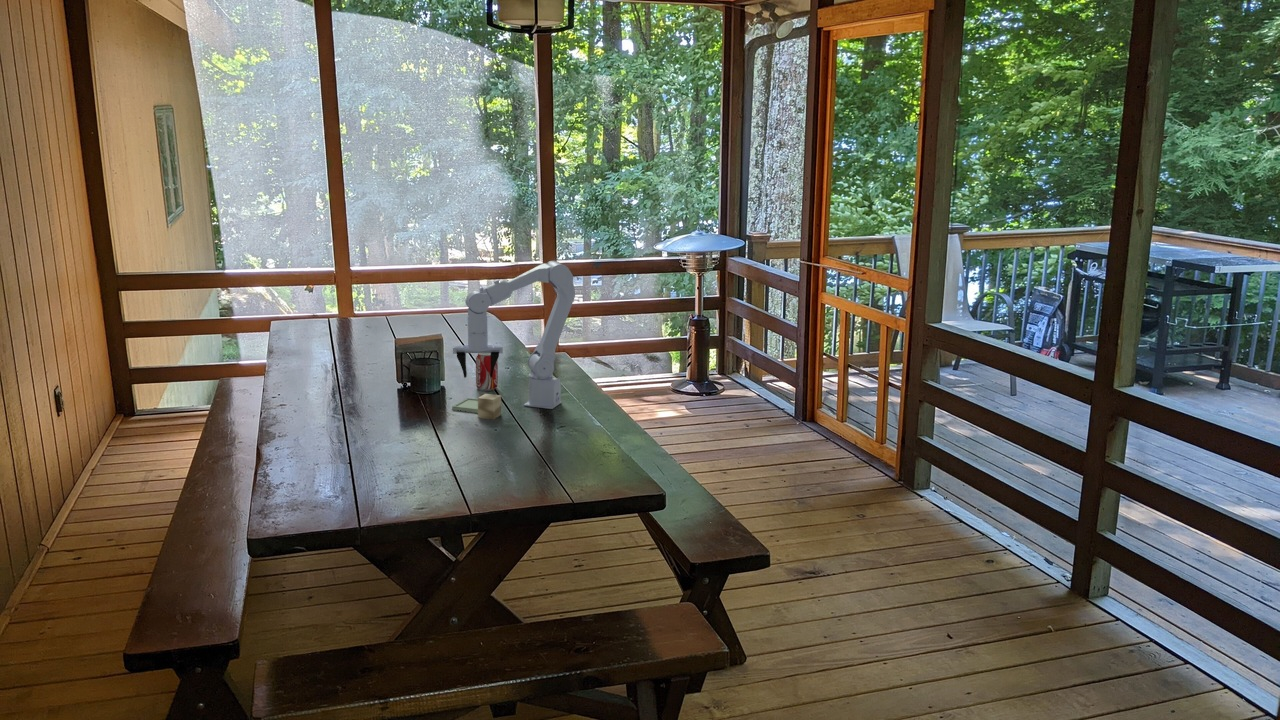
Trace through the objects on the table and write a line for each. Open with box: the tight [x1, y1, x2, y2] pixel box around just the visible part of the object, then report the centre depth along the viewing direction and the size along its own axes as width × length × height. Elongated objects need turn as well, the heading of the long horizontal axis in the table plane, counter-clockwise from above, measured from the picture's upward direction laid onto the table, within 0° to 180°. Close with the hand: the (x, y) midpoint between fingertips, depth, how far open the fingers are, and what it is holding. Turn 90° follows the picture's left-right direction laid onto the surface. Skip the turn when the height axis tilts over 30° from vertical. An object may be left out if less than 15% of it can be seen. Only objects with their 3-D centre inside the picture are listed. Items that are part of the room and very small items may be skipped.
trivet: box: [451, 397, 478, 414], centre depth 281 cm, size 10×10×1 cm
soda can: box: [475, 353, 499, 392], centre depth 300 cm, size 7×7×12 cm
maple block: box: [477, 393, 502, 420], centre depth 272 cm, size 5×5×6 cm
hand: (478, 376), depth 277 cm, fingers open, 7 cm apart
